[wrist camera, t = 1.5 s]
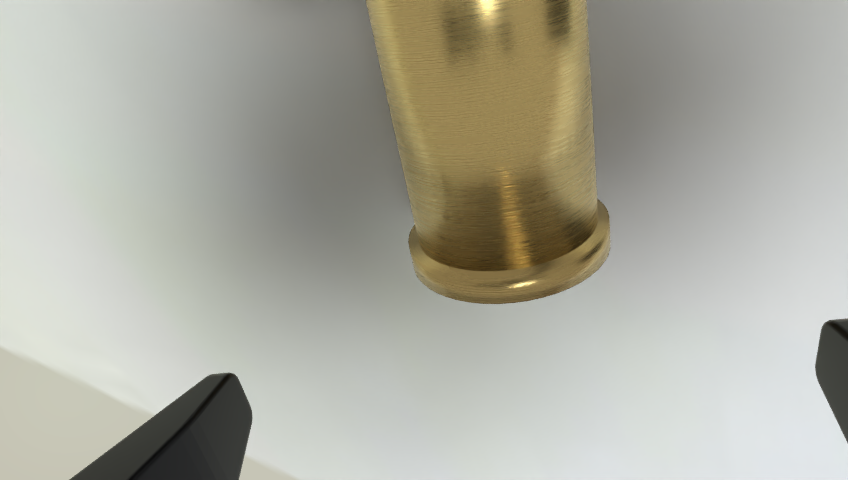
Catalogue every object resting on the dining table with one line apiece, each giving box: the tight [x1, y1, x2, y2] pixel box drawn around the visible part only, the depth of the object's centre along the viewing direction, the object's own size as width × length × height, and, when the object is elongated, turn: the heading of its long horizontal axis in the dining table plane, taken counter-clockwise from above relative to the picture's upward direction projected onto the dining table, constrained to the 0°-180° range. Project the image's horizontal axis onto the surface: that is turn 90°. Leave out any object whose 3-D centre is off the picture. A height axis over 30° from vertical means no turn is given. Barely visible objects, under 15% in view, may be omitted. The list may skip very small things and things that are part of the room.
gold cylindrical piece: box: [366, 0, 610, 304], centre depth 14 cm, size 14×6×6 cm, turn 11°
